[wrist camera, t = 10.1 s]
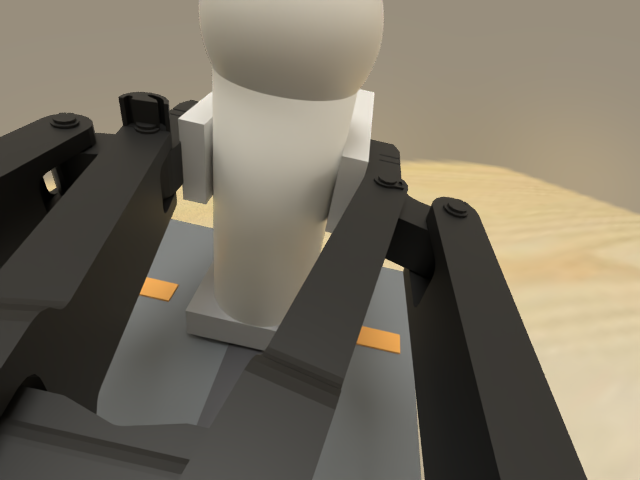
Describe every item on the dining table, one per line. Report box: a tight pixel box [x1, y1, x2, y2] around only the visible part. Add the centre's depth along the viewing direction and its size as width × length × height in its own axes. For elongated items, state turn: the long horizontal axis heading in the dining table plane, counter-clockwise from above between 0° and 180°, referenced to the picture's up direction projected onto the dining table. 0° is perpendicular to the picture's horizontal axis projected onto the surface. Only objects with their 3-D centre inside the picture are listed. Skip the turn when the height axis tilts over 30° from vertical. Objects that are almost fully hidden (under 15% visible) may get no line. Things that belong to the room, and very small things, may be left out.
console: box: [97, 219, 421, 480], centre depth 14 cm, size 14×20×3 cm
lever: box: [185, 0, 384, 351], centre depth 12 cm, size 5×5×14 cm
